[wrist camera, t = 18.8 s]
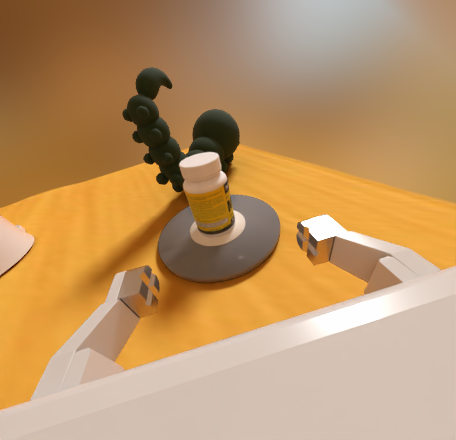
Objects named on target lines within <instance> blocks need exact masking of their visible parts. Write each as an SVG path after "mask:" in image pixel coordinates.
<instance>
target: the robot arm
mask: <svg viewBox="0 0 456 440" xmlns="http://www.w3.org/2000/svg"><path fill="white" fill-rule="evenodd" d="M297 228H298V230H299V232H298V233H297V242H298V244H299V246H300V248H301V249H302V250H303V251H305V252H307V257H308V258H309V260H310V261H311V262H312V263H313V265H317V264H321V263H325V262H328V261H330V263H332V264H334V265H336V266H338V267H340V268H341V269H343V270H345V271H347V272H349V273H351V274H353V275H354V276H356V277H358V278H360V279H362V280H364V281H365V282H367V283H368V284H367V286H366V288H365V291H364V294H365V295H362V296H359V297H356V298H353V299H350V300H347V301H343V302H340V303H337V304H334V305H331V306H328V307H324V308H321V309H318V310H315V311H312V312H309V313H305V314H302V315H299V316H296V317H293V318H290V319H286V320H283V321H280V322H277V323H274V324H271V325H267V326H264V327H261V328H258V329H255V330H252V331H249V332H245V333H242V334H239V335H236V336H233V337H230V338H226V339H223V340H220V341H217V342H214V343H211V344H207V345H204V346H201V347H198V348H195V349H192V350H189V351H185V352H182V353H179V354H176V355H173V356H170V357H166V358H163V359H160V360H157V361H154V362H151V363H148V364H144V365H141V366H138V367H135V368H132V369H129V370H126V371H124V368H123V367H122V366H120V365H119V364H117V363H115V360H116V359H117V357H118V355H119V354H120V352H121V350H122V349H123V347H124V345H125V344H126V342H127V340H128V339H129V337H130V335H131V334H132V332H133V330H134V328H135V327H136V325H137V323H138V322H139V320H140V319H139V318H142V317H145V316H148V315H151V314H154V313H157V306H158V299H157V298H156V296H157V295H158V293H159V288H160V287H159V281H158V278H157V277H156V275H154V274H152V273H151V271H152V269H151V268H150V267H149V266H142V267H139V268H135V269H131V270H127V271H124V272H120V273H117V274H116V275H115V277H114V279H113V282H112V285H111V287H110V290H109V293H108V295H107V298H106V301H105V303H104V304H101V305H100V306H99V307H98V308H97V309H96V311H95V312H94V313H93V314H92V315H91V316H90V317H89V318H88V319H87V320H86V321H85V322H84V323H83V324H82V326H81V327H80V328H79V329H78V330H77V331H76V332H75V333H74V334H73V335H72V336H71V337H70V338H69V339H68V341H67V342H66V343H65V344H64V345H63V346H62V347H61V348H60V349H59V350H58V351H57V352H56V353H55V354H54V356H53V357H52V358H51V359H50V361H49V363H48V365H47V367H46V369H45V371H44V373H43V375H42V377H41V379H40V381H39V383H38V385H37V387H36V389H35V391H34V394H33V396H32V398H31V400H30V401H28V402H25V403H21V404H18V405H15V406H12V407H9V408H6V409H3V410H0V440H456V266H454V267H451V268H447V269H444V270H440V269H439V268H438V267H436V266H435V265H433V264H432V263H430V262H429V261H427V260H426V259H424V258H423V257H421V256H420V255H418V254H417V253H416V252H414V251H413V250H411V249H409V248H406V247H402V246H399V245H396V244H392V243H389V242H386V241H382V240H379V239H376V238H372V237H369V236H366V235H362V234H359V233H356V232H352V231H350V232H348V231H347V230H345V229H344V228H343V227H342V226H341V225H339V224H338V223H337V222H336V221H334V220H333V219H332V218H331V217H330V216H328V215H326V214H324V215H320V216H317V217H314V218H311V219H307V220H304V221H300V222H298V224H297ZM33 243H34V237H33V236H32V235H30V234H28V233H26V232H25V229H24V228H23V227H21V226H20V225H16V226H15V225H13V224H12V223H10V222H9V221H8V220H6V219H5V218H3V217H2V216H1V215H0V275H1V274H2V273H4V272H5V271H6V270H8V269H9V268H10V267H12V266H13V265H14V264H15V263H16V262H17V261H19V260H20V259H21V258H22V257H23V256H24V255H25V254H26V253H27V252H28V250H29V249H30V248H31V246H32V245H33Z"/></svg>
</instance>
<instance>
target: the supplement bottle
mask: <svg viewBox="0 0 456 440" xmlns="http://www.w3.org/2000/svg"><path fill="white" fill-rule="evenodd" d="M179 167H180V170H181V173H182V176H183V178H184V179H185V181H184V183H183V189H184V192H185V194H186V197H187V200H188V203H189V206H190V208H191V211H192V214H193V217H194V220H195V222H196V225H197V228H198V231H199V232H200V233H201V234H202V235H203V236H206V237H211V238H213V237H219V236H222V235H225V234H227V233H228V232H230V231H231V230H232V229H233V227H234V225H235V216H234V211H233V206H232V201H231V196H230V191H229V186H228V180H227V177H226V175H225V173H224V172H222V171H221V169H222V168H221V162H220V159H219V155H218V154H217V153H214V152H205V153H199V154H195V155H192V156H190V157H187V158H185V159H184V160H182V161H181V162H180V163H179Z"/></svg>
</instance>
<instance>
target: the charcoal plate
mask: <svg viewBox="0 0 456 440" xmlns="http://www.w3.org/2000/svg"><path fill="white" fill-rule="evenodd" d="M230 196H231V201H232V206H233V211H234V216H235V225H234V227H233V229H232V230H231V231H230V232H228V233H227V234H225V235H222V236H219V237H213V238H211V237H206V236H203V235H202V234H201V233H200V232H199V231H198V228H197V225H196V222H195V220H194V217H193V214H192V211H191V208H190V206H188V207H187V208H185V209H183V210H182V211H180V212H179V213H178V214H176V215H175V216H174V217H173V218H172V219H171V220H170V221H169V222H168V223H167V225H166V226H165V227H164V229H163V231H162V233H161V235H160V238H159V242H158V250H159V254H160V257H161V259H162V261H163V262H164V264H165V265H166V267H167V268H168V269H169V270H170V271H171V272H172V273H174V274H175V275H177V276H178V277H181V278H183V279H185V280H189V281H193V282H201V283H213V282H222V281H226V280H230V279H234V278H236V277H239V276H242V275H244V274H246V273H248V272H250V271H252V270H253V269H255V268H257V267H258V266H259V265H261V264H262V263H263V262H264V261H265V260H266V259H267V258H268V257H269V256H270V255H271V254H272V252H273V251H274V249H275V248H276V246H277V243H278V241H279V237H280V222H279V218H278V215H277V213H276V212H275V210H274V209H273V208H272V207H271V206H270V205H268V204H267V203H265V202H264V201H262V200H259V199H257V198H254V197H250V196H244V195H230Z"/></svg>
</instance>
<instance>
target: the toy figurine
mask: <svg viewBox="0 0 456 440" xmlns="http://www.w3.org/2000/svg"><path fill="white" fill-rule="evenodd" d="M161 85H163V86H165V87H167V88H169V89H171V88H172V83H171V81H170V80H169V78H168V77H167V75H166V74H165V73H163V72H162V71H161V70H159V69H157V68H147V69H144V70H143V71H142V72H141V73H140V74H139V75H138V77H137V79H136V89H137V92H138V94H139V95H136V96H133V97H132V98H131V99H130V100H129V102H128V105H127V109H125V110H124V111H123V117H124V119H125V120H127V121H130V122H132V121H133V123H134V124H136V125H137V131H134V133H133V139H134V140H135V142H137V143H142V142H143V143H144V144H145V145H147V146H148V147H149V153H147V154H145V156H144V161H145V162H146V163H148V164H153V163H154V162H155V163H156V164H157V165H159V168H160V171H161V173H159V174H158V175H157V176H156V180H157V182H158V183H159V184H163V185H165V184H167V183H168V181H169V180H170V182H171V183H172V184H173V185H172V187H173V189H174V190H175V191H176V192H181V191H183V190H184V189H183V183H184V181H185V179H184V178H183V176H182V173H181V170H180V167H179V163H180V162H181V161H182V160H184V159H185V158H187V157H190V156H192V155H195V154H199V153H205V152H214V153H217V154H218V155H219V159H220V162H221V168H222V169H221V171H222V172H224V173H226V172H227V171H228V164H229V163H230V162H232V160H233V153H234V151H235V150H236V148H237V146H238V145H239V143H240V142H239V128H238V126H237V123H236V122H235V120H234V119H233V118H232V117H231V116H230V114H228V113H226V112H225V111H222V110H217V109H213V110H209V111H206V112H204V113H203V114H202V115H201V116H200V117H199V118H198V119H197V121H196V123H195V125H194V128H193V142H192V144H191V146H190V147H189V152H188V153H187V154H186V155H185V154H184V153H183V152H181V150H180V147H179V144H178V143H177V142H176V140H175V139H173V138H172V137H170V131H169V127H168V125H167V123H166V122H165V121H164V120H163V119H162V118H160V117H159V111H158V108H157V106H156V104H155V103H154V102H153V101H152V100H153V99H155V98H156V96H157V94H158V91H159V88H160V86H161Z"/></svg>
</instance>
